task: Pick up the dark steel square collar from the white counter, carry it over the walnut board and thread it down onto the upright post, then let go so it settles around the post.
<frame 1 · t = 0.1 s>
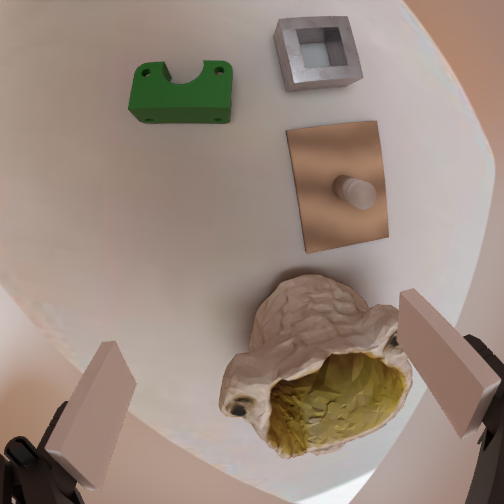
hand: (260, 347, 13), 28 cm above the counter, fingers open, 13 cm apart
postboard: (341, 185, 38), on the counter
clamp: (187, 96, 34), on the counter
ceramic vessel: (308, 330, 46), on the counter
collar: (310, 60, 33), on the counter
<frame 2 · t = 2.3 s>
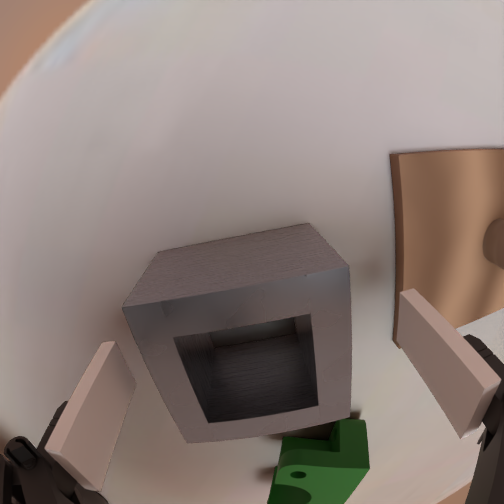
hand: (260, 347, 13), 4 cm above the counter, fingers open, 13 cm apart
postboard: (487, 235, 17), on the counter
clamp: (306, 450, 23), on the counter
collar: (246, 305, 17), on the counter
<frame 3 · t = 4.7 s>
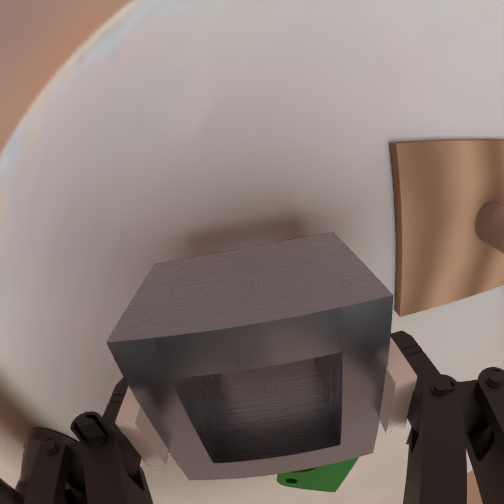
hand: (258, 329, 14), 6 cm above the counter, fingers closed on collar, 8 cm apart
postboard: (480, 218, 19), on the counter
clamp: (317, 417, 26), on the counter
collar: (258, 325, 15), point 6 cm above the counter, touching gripper
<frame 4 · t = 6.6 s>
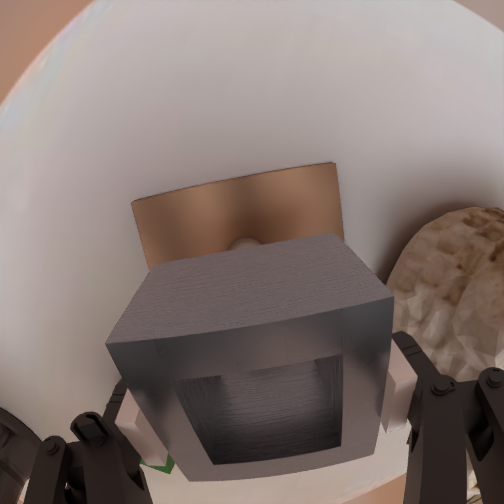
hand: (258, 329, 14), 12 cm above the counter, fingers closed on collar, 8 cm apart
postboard: (245, 251, 25), on the counter
ceramic vessel: (453, 275, 28), on the counter
collar: (258, 326, 15), point 11 cm above the counter, touching gripper
when the fingers open (3 cm above the counter, at t = 8.8 s): collar drops 1 cm, resting on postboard.
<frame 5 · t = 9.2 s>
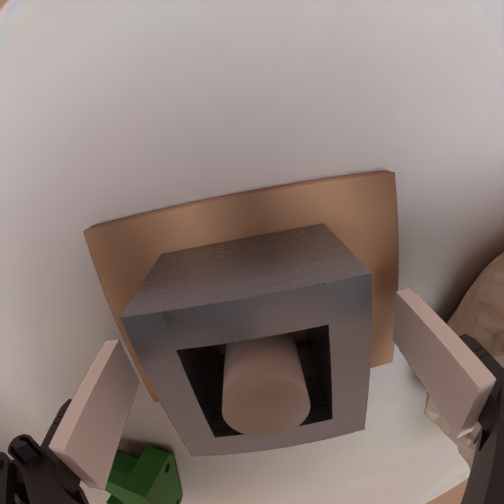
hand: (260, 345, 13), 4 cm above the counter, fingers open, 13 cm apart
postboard: (255, 301, 17), on the counter
clamp: (143, 465, 23), on the counter
collar: (256, 310, 16), point 1 cm above the counter, touching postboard
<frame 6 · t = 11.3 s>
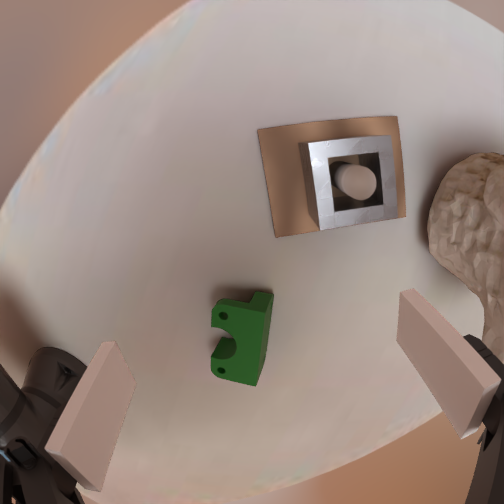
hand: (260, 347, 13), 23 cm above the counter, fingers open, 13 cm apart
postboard: (337, 173, 33), on the counter
clamp: (242, 323, 40), on the counter
ceramic vessel: (476, 210, 34), on the counter
collar: (339, 174, 32), point 1 cm above the counter, touching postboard
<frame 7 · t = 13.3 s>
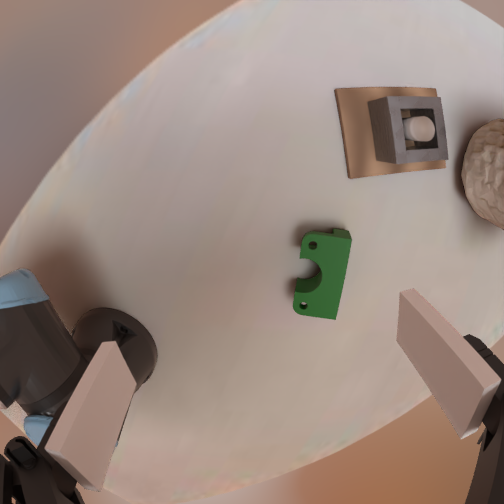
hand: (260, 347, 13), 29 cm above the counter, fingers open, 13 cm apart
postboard: (394, 129, 37), on the counter
clamp: (316, 263, 43), on the counter
ceramic vessel: (494, 169, 39), on the counter
collar: (397, 129, 36), point 1 cm above the counter, touching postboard
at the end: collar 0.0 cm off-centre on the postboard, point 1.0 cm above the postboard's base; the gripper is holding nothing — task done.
